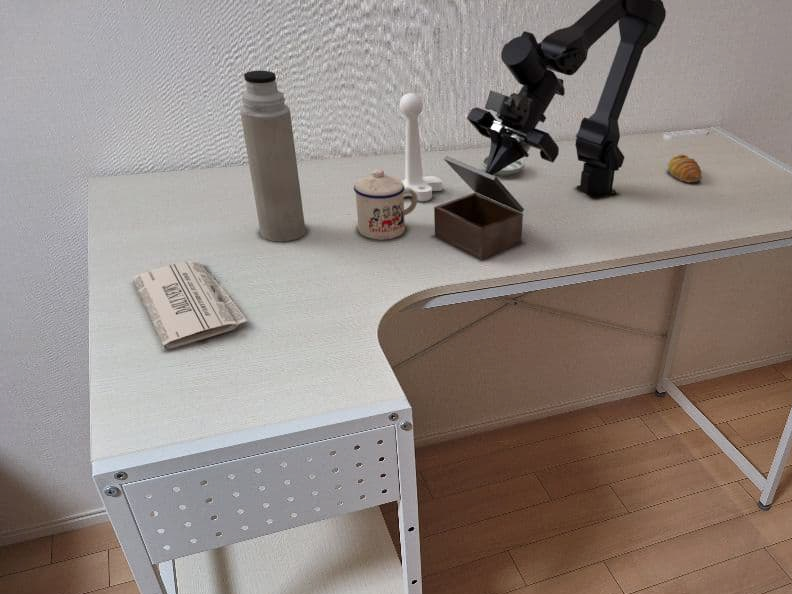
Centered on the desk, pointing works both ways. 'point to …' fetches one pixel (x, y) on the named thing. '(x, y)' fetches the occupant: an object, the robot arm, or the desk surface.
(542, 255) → the desk surface
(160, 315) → the newspaper
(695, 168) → the pastry
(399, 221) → the teacup with lid
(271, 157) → the thermos bottle
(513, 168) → the saucer
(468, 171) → the dark grey flat tile
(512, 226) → the wooden box
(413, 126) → the joystick
